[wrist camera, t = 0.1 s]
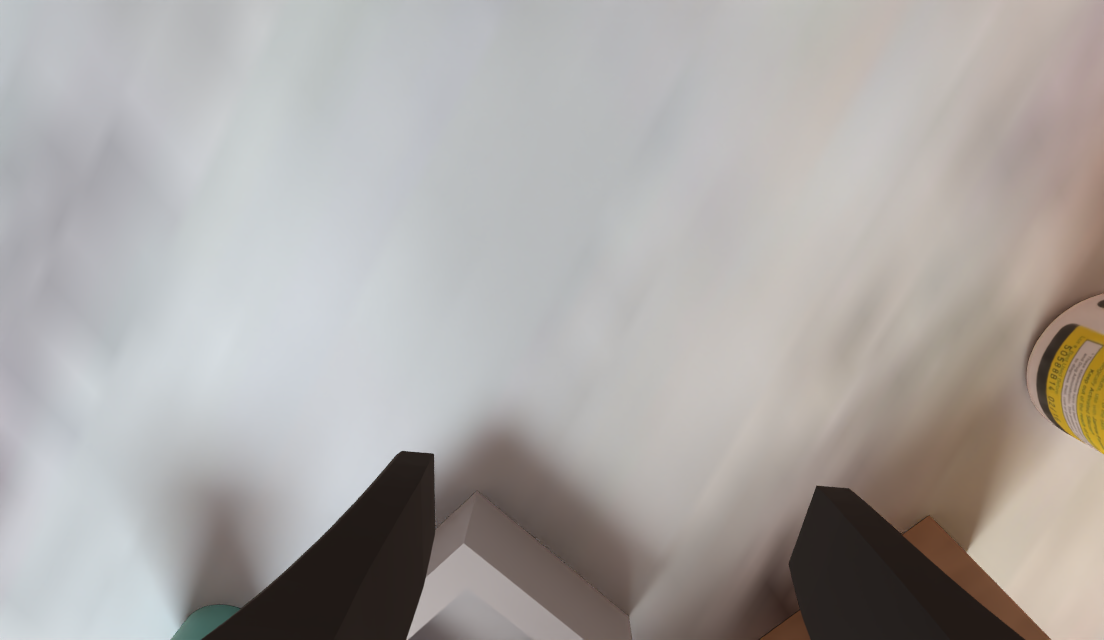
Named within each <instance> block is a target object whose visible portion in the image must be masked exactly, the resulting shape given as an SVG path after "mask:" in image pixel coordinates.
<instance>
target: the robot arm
mask: <svg viewBox="0 0 1104 640" xmlns="http://www.w3.org/2000/svg"><path fill="white" fill-rule="evenodd" d="M434 537H435V495H434V454H431V453H419V452H407V451H401V452H400V453H398V454H397V455H396V456H395V457H394V458H393V459H392V461H391V462H390V463H389V464H388V465H387V467H386V468H385V469H384V470H383V471H382V472H381V474H380V475H379V476H378V477H377V478H376V479H375V481H374V482H373V483H372V484H371V485H370V486H369V487H368V488H367V490H366V491H365V492H364V493H363V494H362V495H361V496H360V497H359V498H358V500H357V501H356V502H355V503H354V504H353V505H352V506H351V507H350V508H349V509H348V510H347V511H346V512H345V513H344V514H343V515H342V516H341V517H340V518H339V519H338V521H337V522H336V523H335V524H334V525H333V526H332V527H331V528H330V529H329V530H328V531H327V532H326V533H325V534H324V535H323V536H322V537H321V538H320V539H319V540H318V541H317V542H316V543H315V544H313V545H312V546H311V547H310V548H309V549H308V550H307V551H306V552H305V553H304V554H303V555H302V556H301V557H300V558H299V559H298V560H297V561H295V562H294V563H293V564H292V565H291V566H290V567H289V568H288V569H287V570H286V571H285V572H284V573H282V574H281V575H280V576H279V577H278V578H277V579H276V580H275V581H273V582H272V583H271V584H270V585H269V586H268V587H266V588H265V589H264V590H263V591H262V592H261V593H259V594H258V595H257V596H256V597H255V598H253V599H252V600H251V601H250V602H248V603H247V604H246V605H245V606H244V607H242V608H241V609H240V610H239V611H237V612H236V613H235V614H234V615H232V616H231V617H230V618H229V619H227V620H226V621H225V622H223V623H222V624H221V625H219V626H218V627H217V628H215V629H214V630H213V631H211V632H210V633H209V634H207V635H206V636H205V637H203V638H202V639H201V640H406V639H407V636H408V633H409V630H410V627H411V624H412V621H413V618H414V615H415V612H416V609H417V606H418V603H419V600H420V597H421V594H422V591H423V587H424V583H425V579H426V574H427V570H428V565H429V561H430V556H431V551H432V546H433V542H434ZM789 568H790V572H791V576H792V580H793V584H794V588H795V592H796V596H797V600H798V603H799V607H800V611H801V614H802V618H803V621H804V623H805V626H806V629H807V631H808V634H809V637H810V639H811V640H1025V639H1024V638H1023V637H1022V636H1020V635H1019V634H1018V633H1017V632H1015V631H1014V630H1013V629H1012V628H1010V627H1009V626H1008V625H1007V624H1005V623H1004V622H1003V621H1002V620H1000V619H999V618H998V617H997V616H995V615H994V614H993V613H992V612H991V611H989V610H988V609H987V608H986V607H984V606H983V605H982V604H981V603H980V602H978V601H977V600H976V599H975V598H974V597H972V596H971V595H970V594H969V593H968V592H966V591H965V590H964V589H963V588H962V587H961V586H959V585H958V584H957V583H956V582H955V581H954V580H952V579H951V578H950V577H949V576H948V575H947V574H945V573H944V572H943V571H942V570H941V569H940V568H939V567H938V566H936V565H935V564H934V563H933V562H932V561H931V560H930V559H928V558H927V557H926V556H925V555H924V554H923V553H922V552H921V551H919V550H918V549H917V548H916V547H915V546H914V545H913V544H912V543H910V542H909V541H908V540H907V539H906V538H905V537H904V536H903V535H902V534H900V533H899V532H898V531H897V530H896V529H895V528H894V527H893V526H892V525H890V524H889V523H888V522H887V521H886V520H885V519H884V518H883V517H882V516H880V515H879V514H878V513H877V512H876V511H875V510H874V509H873V508H871V507H870V506H869V505H868V504H867V503H866V502H865V501H863V500H862V499H861V498H860V497H859V496H857V495H856V494H855V493H854V492H853V491H851V490H850V489H848V488H837V487H825V486H816V489H815V492H814V494H813V497H812V500H811V503H810V506H809V508H808V511H807V514H806V517H805V519H804V522H803V525H802V528H801V531H800V533H799V536H798V539H797V542H796V545H795V547H794V550H793V553H792V556H791V559H790V561H789Z"/></svg>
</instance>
